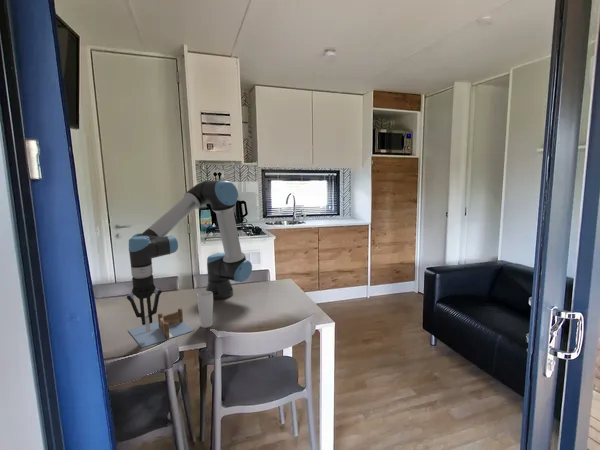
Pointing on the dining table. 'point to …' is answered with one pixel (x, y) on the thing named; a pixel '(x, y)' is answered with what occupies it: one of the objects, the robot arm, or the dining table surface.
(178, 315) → the fence fixed
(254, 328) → the dining table surface
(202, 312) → the drinking glass
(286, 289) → the dining table surface
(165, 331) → the fence panel
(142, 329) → the mat
